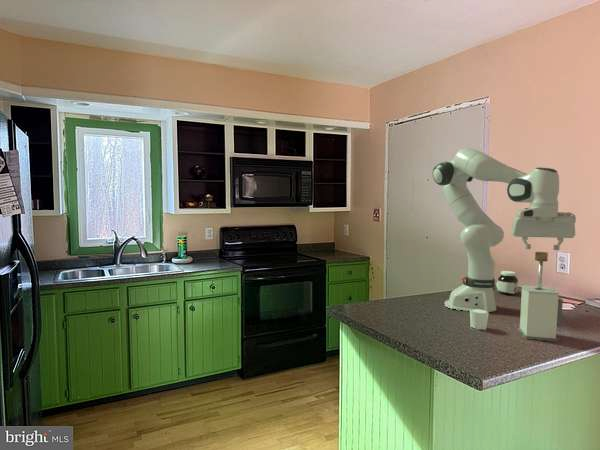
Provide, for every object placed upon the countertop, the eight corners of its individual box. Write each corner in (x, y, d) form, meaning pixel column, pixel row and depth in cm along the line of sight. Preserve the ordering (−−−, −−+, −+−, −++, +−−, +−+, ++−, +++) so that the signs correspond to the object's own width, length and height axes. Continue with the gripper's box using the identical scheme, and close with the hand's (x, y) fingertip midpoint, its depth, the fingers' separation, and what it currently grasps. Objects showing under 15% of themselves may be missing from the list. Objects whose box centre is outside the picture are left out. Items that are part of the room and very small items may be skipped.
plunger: (530, 307, 152) (533, 253, 150) (525, 302, 159) (528, 250, 157) (552, 309, 150) (555, 254, 148) (546, 303, 157) (549, 251, 155)
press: (525, 339, 152) (527, 291, 150) (518, 329, 162) (520, 285, 160) (564, 342, 148) (567, 293, 147) (554, 332, 158) (557, 287, 157)
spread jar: (507, 296, 213) (508, 274, 212) (488, 291, 223) (489, 270, 222) (522, 293, 219) (523, 272, 218) (502, 289, 229) (503, 268, 228)
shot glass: (465, 326, 165) (465, 309, 165) (478, 324, 168) (479, 307, 167) (478, 332, 159) (478, 314, 158) (491, 330, 161) (492, 312, 161)
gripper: (572, 212, 152) (570, 249, 153) (511, 211, 157) (510, 247, 158) (579, 212, 146) (577, 251, 147) (515, 212, 151) (514, 249, 152)
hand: (541, 249), depth 153 cm, fingers open, 8 cm apart
